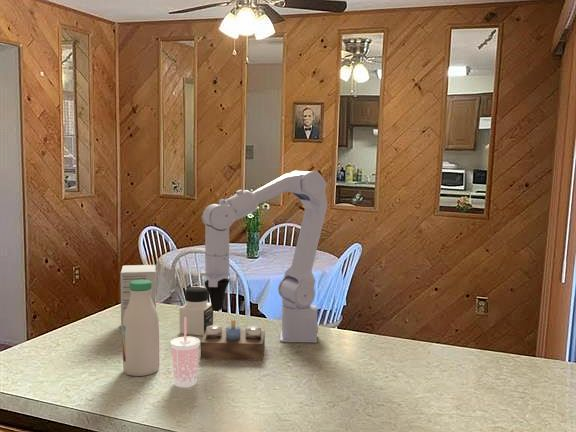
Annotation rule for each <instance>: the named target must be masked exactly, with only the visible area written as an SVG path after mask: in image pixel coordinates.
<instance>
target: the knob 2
mask: <svg viewBox="0 0 576 432" xmlns="http://www.w3.org/2000/svg"><path fill="white" fill-rule="evenodd" d="M245 331H246V336H245V337H246V338H248V339H253V340H258V339H259V338H261V331H262V327H261V326H257V325H251V326H247V327H245Z"/></svg>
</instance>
